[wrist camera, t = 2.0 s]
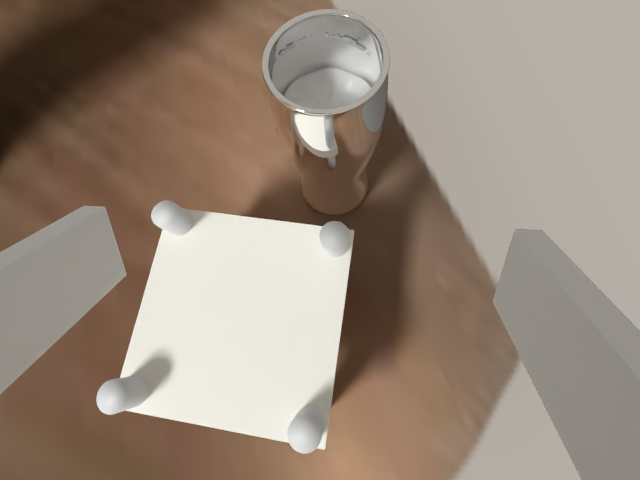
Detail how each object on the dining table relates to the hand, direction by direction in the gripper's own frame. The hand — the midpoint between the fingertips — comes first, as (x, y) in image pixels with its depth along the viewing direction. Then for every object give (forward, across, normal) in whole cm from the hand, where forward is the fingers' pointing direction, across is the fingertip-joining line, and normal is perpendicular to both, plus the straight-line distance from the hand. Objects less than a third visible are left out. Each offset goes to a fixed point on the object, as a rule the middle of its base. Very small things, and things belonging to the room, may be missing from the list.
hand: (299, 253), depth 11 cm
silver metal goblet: (+21, 0, -5) cm, 22 cm away
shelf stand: (+12, -5, -14) cm, 19 cm away
